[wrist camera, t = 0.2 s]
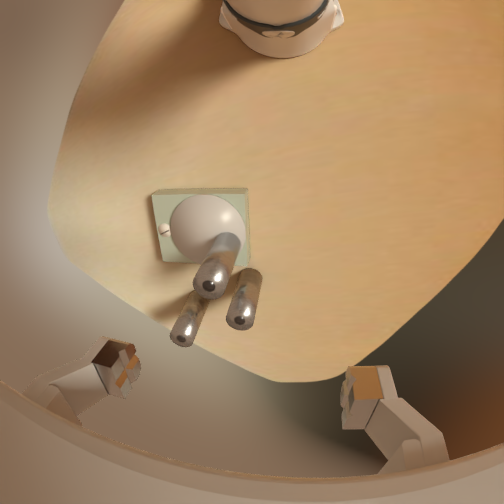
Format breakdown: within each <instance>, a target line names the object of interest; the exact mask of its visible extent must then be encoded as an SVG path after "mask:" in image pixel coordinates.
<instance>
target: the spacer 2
mask: <svg viewBox="0 0 504 504" xmlns="http://www.w3.org/2000/svg"><path fill="white" fill-rule="evenodd" d="M240 249H241V242H240V239H239V238H238V237H237V236H236V235H235V234H233V233H230V232H223V233H221V234H219V235H218V236H217V238H216V239H215V241H214V243H213V245H212V246H211V248H210V250H209V252H208V254H207V255H206V257H205V259H204V261H203V263H202V264H201V266H200V268H199V270H198V272H197V274H196V275H195V277H194V279H193V287H194V289H195V291H196V292H197V293H198V294H199V295H200V296H202V297H204V298H207V299H217V298H220V297H221V296H222V295H223V294H224V292H225V289H226V286H227V284H228V281H229V278H230V276H231V273H232V270H233V267H234V265H235V262H236V259H237V257H238V254H239V251H240Z"/></svg>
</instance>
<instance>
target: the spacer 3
mask: <svg viewBox="0 0 504 504" xmlns="http://www.w3.org/2000/svg"><path fill="white" fill-rule="evenodd" d="M261 284H262V275H261V274H260V272H259V271H257V270H255V269H252V268H248V269H244V270H243V271H242V272H241V273H240V275H239V279H238V282H237V285H236V288H235V291H234V294H233V297H232V300H231V303H230V306H229V310H228V313H227V316H226V321H227V323H228V325H229V326H231V327H232V328H234V329H236V330H247V329H249V328H251V327H252V326H253V323H254V318H255V313H256V308H257V303H258V299H259V294H260V289H261Z"/></svg>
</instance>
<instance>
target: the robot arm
mask: <svg viewBox="0 0 504 504" xmlns="http://www.w3.org/2000/svg"><path fill="white" fill-rule="evenodd" d="M220 9H221V12H220V17H219V23H220V24H221V26H222V27H224V28H226V29H228V30H230V31H232V32H234V33H236V34H237V35H238V36H239V37H240V39H241V40H242V41H243V42H244V43H245V44H246V45H247V46H248V47H250V48H251V49H253V50H254V51H256V52H258V53H260V54H263V55H266V56H270V57H275V58H291V57H296V56H300V55H303V54H305V53H308V52H310V51H311V50H313V49H314V48H316V47H317V46H318V45H319V44H320V43H321V42H322V41H323V39H324V38H325V37H326V35H327V34H328V33H329V32H331V31H334V30H336V29H338V28H339V27H341V26H342V25H343V23H344V17H343V14H342V11H341V8H340V5H339V2H338V0H223V3H222V7H221V8H220ZM336 14H337V15H336ZM135 352H136V349H135V346H134V345H133V344H131V343H128V342H123V341H120V340H116V339H111V338H108V337H104V336H102V337H100V338H99V339H98V340H97V341H96V342H95V343H94V344H93V346H92V347H91V348H90V349H89V351H88V352H87V353H86V354H85V355H84V356H83V358H82V359H76V360H74V361H72V362H69V363H67V364H65V365H62V366H60V367H58V368H55V369H53V370H51V371H48V372H46V373H44V374H41V375H39V376H37V377H36V378H35V379H34V380H33V381H32V383H31V384H30V385H29V386H28V387H27V389H26V390H25V391H24V392H23V393H22V394H20V393H19V392H17V391H16V390H14V389H13V388H11V387H10V386H8V385H7V384H5V383H4V382H2V381H1V380H0V504H504V443H502V444H499V445H497V446H494V447H492V448H489V449H486V450H483V451H481V452H477V453H475V454H471V455H468V456H465V457H462V458H458V459H455V460H451V461H450V460H449V456H448V452H447V449H446V445H445V441H444V438H443V434H442V433H441V432H440V431H439V430H438V429H437V428H436V427H434V426H433V425H432V424H431V423H430V422H429V421H427V420H426V419H425V418H424V417H423V416H422V415H421V414H419V413H418V412H417V411H416V410H415V409H414V408H412V407H411V406H410V405H409V404H408V403H407V402H405V400H403V399H402V398H398V397H397V393H396V389H395V385H394V382H393V378H392V375H391V371H390V368H389V366H387V365H385V366H348V368H347V371H346V380H345V381H344V382H343V385H342V388H341V406H342V407H343V408H344V410H343V413H342V428H343V429H365V431H366V432H367V434H368V435H369V436H370V437H371V439H372V440H373V441H374V443H375V444H376V445H377V446H378V447H379V449H380V450H381V451H382V453H383V454H384V455H385V456H386V458H387V459H388V460H389V461H388V462H387V463H386V464H385V466H384V467H383V468H382V469H381V470H380V471H379V473H378V474H377V475H368V476H356V477H339V478H293V477H277V476H265V475H255V474H246V473H238V472H232V471H226V470H220V469H214V468H209V467H204V466H199V465H195V464H190V463H186V462H182V461H178V460H174V459H170V458H166V457H163V456H159V455H156V454H152V453H149V452H146V451H143V450H140V449H137V448H134V447H131V446H128V445H125V444H122V443H120V442H117V441H114V440H112V439H109V438H106V437H104V436H102V435H99V434H97V433H95V432H92V431H90V430H88V429H86V428H83V427H82V423H81V422H80V420H79V419H78V417H77V415H79V414H80V413H82V412H83V411H85V410H87V409H88V408H90V407H91V406H93V405H94V404H95V403H97V402H99V401H100V400H102V399H103V398H105V397H106V396H108V394H109V395H113V396H117V397H120V398H123V399H126V397H127V395H128V394H129V392H130V390H131V389H132V386H131V383H132V382H134V381H136V380H137V379H138V377H139V375H140V370H141V364H140V361H139V358H138V357H137V356H136V355H135Z"/></svg>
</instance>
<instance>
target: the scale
mask: <svg viewBox="0 0 504 504" xmlns="http://www.w3.org/2000/svg"><path fill="white" fill-rule="evenodd" d="M151 196H152V202H153V209H154V215H155V221H156V227H157V232H158V238H159V243H160V248H161V254H162V259H163V262H179V263H196V264H202V263H203V261H204V259H205V257H206V255H207V254H208V252H209V250H210V248H211V246H212V245H213V243H214V241H215V239H216V238H217V236H218V235H219V234H221V233H223V232H230V233H233V234H235V235H236V236H237V237H238V238H239V239H240V242H241V249H240V251H239V254H238V257H237V259H236V262H235V265H234V266H248V263H249V259H250V243H249V216H248V189H247V188H211V189H167V190H158V191H156V192H155V193H154V194H152V195H151Z"/></svg>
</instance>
